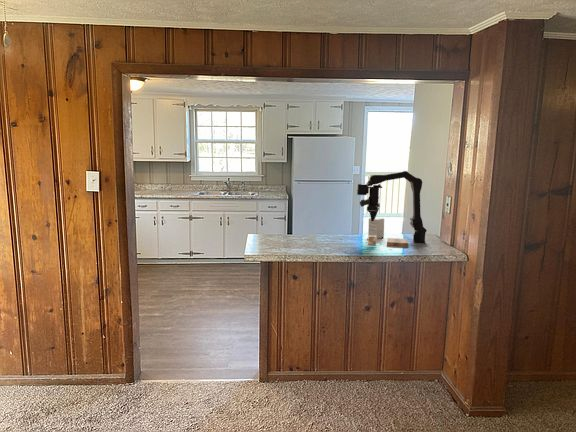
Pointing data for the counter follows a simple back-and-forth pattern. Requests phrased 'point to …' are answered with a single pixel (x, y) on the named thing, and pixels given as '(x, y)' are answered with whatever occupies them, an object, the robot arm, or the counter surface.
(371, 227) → the supplement box
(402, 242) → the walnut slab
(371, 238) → the maple cube
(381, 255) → the counter surface
